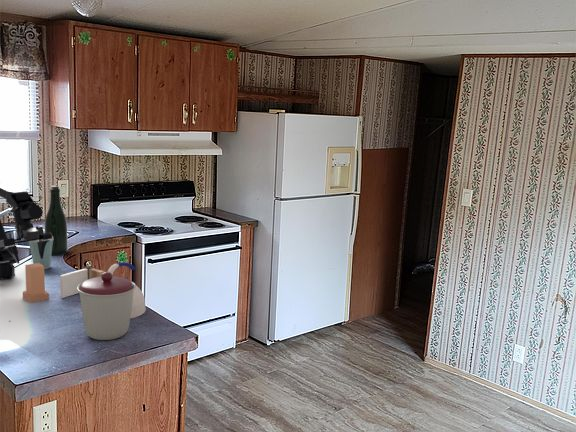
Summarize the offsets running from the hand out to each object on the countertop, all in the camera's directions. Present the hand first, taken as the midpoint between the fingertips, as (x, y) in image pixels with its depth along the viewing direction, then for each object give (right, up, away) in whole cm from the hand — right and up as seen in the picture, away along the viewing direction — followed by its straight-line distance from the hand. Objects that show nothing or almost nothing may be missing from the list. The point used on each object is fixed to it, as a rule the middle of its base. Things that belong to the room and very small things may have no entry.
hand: (30, 261), depth 228 cm
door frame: (+19, -11, +4) cm, 23 cm away
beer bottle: (-11, 0, +54) cm, 55 cm away
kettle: (+40, -17, -18) cm, 47 cm away
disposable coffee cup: (-8, -5, +29) cm, 30 cm away
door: (+18, -12, -3) cm, 22 cm away
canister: (+43, -21, -39) cm, 62 cm away
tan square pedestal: (+7, -13, -10) cm, 18 cm away
